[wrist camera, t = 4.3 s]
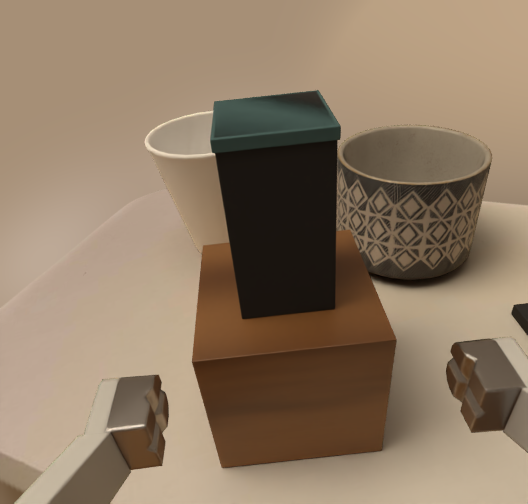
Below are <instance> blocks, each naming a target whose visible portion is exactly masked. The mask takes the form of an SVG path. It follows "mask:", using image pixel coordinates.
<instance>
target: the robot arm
mask: <svg viewBox="0 0 528 504" xmlns="http://www.w3.org/2000/svg"><path fill="white" fill-rule="evenodd" d="M451 354H452V356H453V358H452V359H451V360H450V361H449V362H448V363H447V368H446V375H447V382H448V385H449V388H450V390H451V392H452V394H453V396H454V397H455V398H457V399H458V400H459V401H461V402H462V407H461V410H460V411H461V413H462V415H463V417H464V419H465V421H466V423H467V425H468V427H469V429H470V431H471V433H476V432H488V431H501V430H504V431H503V432H504V433H505V434H506V435H507V436H509V437H510V438H511V439H512V440H513V441H514V442H516V443H517V444H518V445H519V446H520V447H521V448H523V449H524V450H525V451H526V452H527V453H528V357H527V355H526V354H525V353H524V351H523V350H522V349H521V347H520V346H519V344H518V343H517V342H516V340H515V339H513V338H512V337H502V338H493V339H481V340H472V341H464V342H456V343H454V344H453V345H452V348H451ZM161 383H162V382H161V380H160V377H159V375H148V376H135V377H123V378H112V379H102V381H101V382H100V384H99V385H98V389H97V392H96V395H95V399H94V402H93V405H92V409H91V412H90V415H89V419H88V422H87V425H86V428H85V432H84V435H79V436H77V437H76V438H75V439H74V440H73V441H72V443H71V444H70V445H69V446H68V447H67V448H66V449H65V450H64V451H63V452H62V453H61V454H60V455H59V456H58V457H57V458H56V459H55V461H54V462H53V463H52V464H51V465H50V466H49V467H48V468H47V469H46V470H45V471H44V472H43V473H42V474H41V475H40V476H39V477H38V479H37V480H36V481H35V482H34V483H33V484H32V485H31V486H30V487H29V488H28V489H27V490H26V491H25V492H24V493H23V494H22V495H21V497H20V498H19V499H18V500H17V501H16V502H15V503H14V504H110V502H111V501H112V499H113V498H114V496H115V495H116V493H117V492H118V490H119V489H120V487H121V486H122V484H123V483H124V481H125V480H126V479H127V477H128V476H129V474H130V473H131V471H130V470H134V469H141V468H149V467H156V466H162V463H163V456H164V449H165V440H164V437H163V434H162V433H163V431H164V430H165V429H166V428H167V426H168V417H169V412H168V400H167V396H166V393H165V392H164V391H162V390H161Z"/></svg>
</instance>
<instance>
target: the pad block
mask: <svg viewBox="0 0 528 504" xmlns="http://www.w3.org/2000/svg"><path fill="white" fill-rule="evenodd" d="M340 133H341V127H340V125H339V123H338V121H337V120H336V118H335V116H334V115H333V113H332V112H331V110H330V108H329V107H328V105H327V103H326V102H325V100H324V99H323V97H322V95H321V94H320V92H319V91H318V90H317V91H307V92H299V93H290V94H281V95H271V96H261V97H252V98H243V99H234V100H224V101H215V102H214V109H213V118H212V127H211V136H210V144H211V150H212V153H215V157H216V163H217V169H218V176H219V182H220V188H221V194H222V200H223V206H224V212H225V218H226V224H227V231H228V237H229V243H230V249H231V255H232V261H233V267H234V273H235V280H236V286H237V292H238V298H239V304H240V310H241V316H242V319H249V318H258V317H267V316H276V315H285V314H295V313H304V312H313V311H322V310H332V309H335V288H336V210H337V140H340Z"/></svg>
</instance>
